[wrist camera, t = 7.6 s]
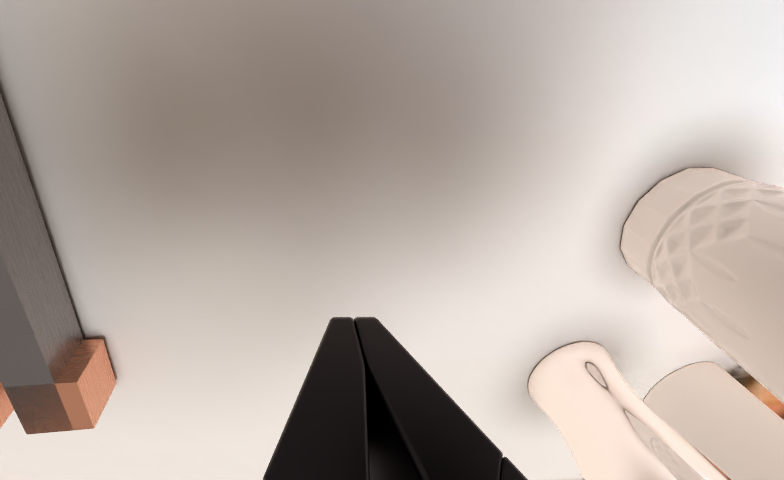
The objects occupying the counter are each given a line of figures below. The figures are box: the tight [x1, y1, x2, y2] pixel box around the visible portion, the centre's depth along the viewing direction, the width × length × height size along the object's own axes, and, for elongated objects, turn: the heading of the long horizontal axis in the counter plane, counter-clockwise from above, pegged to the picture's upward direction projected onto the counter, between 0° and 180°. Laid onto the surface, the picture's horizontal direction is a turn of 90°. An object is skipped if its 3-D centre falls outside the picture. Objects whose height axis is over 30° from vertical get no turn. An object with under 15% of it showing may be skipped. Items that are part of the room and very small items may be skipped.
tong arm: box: [0, 93, 116, 434], centre depth 14 cm, size 19×3×3 cm, turn 173°
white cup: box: [621, 168, 784, 404], centre depth 19 cm, size 8×8×10 cm
